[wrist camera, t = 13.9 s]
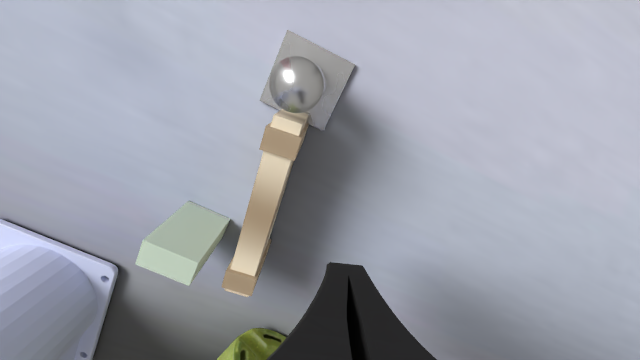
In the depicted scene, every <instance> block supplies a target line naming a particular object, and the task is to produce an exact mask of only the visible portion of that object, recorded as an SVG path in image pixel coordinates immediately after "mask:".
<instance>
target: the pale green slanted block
mask: <svg viewBox="0 0 640 360" xmlns="http://www.w3.org/2000/svg"><path fill="white" fill-rule="evenodd" d="M229 221H230V219H229V218H227V217H225V216H222V215H220V214H218V213H215V212H213V211H211V210H208V209H206V208H204V207H201V206H199V205H197V204H195V203H192V202H190V201H188V202H187V203H185V204H184V205H183V206H182V207H181V208H180V209H178V210H177V211H176V212H175V213H174V214H173V215H171V216H170V217H169V218H168V219H167V220H166V221H164V222H163V223H162V224H161V225H160V226H159V227H158V228H156V229H155V230H154V231H153V232H152V233H151V234H149V235H148V236H147V237H146V238H145V239H144V240H143V241H142V245H141V248H140V251H139V254H138V257H137V260H136V263H135V264H136V265H138V266H141V267H143V268H146V269H148V270H151V271H153V272H156V273H158V274H161V275H163V276H165V277H168V278H170V279H173V280H175V281H178V282H180V283H183V284H185V285H188V286H190V284H191V283H192V281H193V280H194V278H195V277H196V275H197V274H198V272H199V271H200V270H201V268H202V267H203V265H204V264H205V262H206V261H207V259H208V258H209V256H210V255H211V254H212V252H213V251H214V249H215V248H216V246H217V245H218V243H219V242H220V240H221V239H222V237H223V235H224V233H225V230H226V228H227V225H228V223H229Z"/></svg>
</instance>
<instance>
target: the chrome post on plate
mask: <svg viewBox="0 0 640 360" xmlns="http://www.w3.org/2000/svg"><path fill="white" fill-rule="evenodd" d="M354 66H355V64H353V63H351V62H349V61H347V60H345V59H343V58H341V57H339V56H337V55H335V54H334V53H332V52H330V51H328V50H326V49H324V48H322V47H320V46H318V45H316V44H314V43H312V42H310V41H308V40H306V39H304V38H302V37H300V36H298V35H296V34H294V33H293V32H291V31H289V30H287V32H286V35H285V37H284V40H283V42H282V45H281V48H280V50H279V53H278V55H277V58H276V60H275V63H274V65H273V68H272V70H271V73H270V75H269V78H268V80H267V83H266V85H265V88H264V91H263V93H262V96H261V98H260V101H261V102H264V103H266V104H268V105H270V106H272V107H274V108H276V109H278V110H282V109H283V110H285V111H288V112H291V113H306V114H309V115H308V118H307V122H306V123H307V124H309V125H311V126H313V127H316V128H318V129H320V130H322V131H324V129H325V126H326V124H327V122H328V120H329V118H330V116H331V114H332V112H333V110H334V108H335V106H336V104H337V101H338V99H339V97H340V95H341V93H342V91H343V89H344V87H345V85H346V83H347V81H348V79H349V76H350V74H351V72H352V70H353V68H354Z"/></svg>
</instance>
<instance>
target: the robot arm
mask: <svg viewBox="0 0 640 360" xmlns="http://www.w3.org/2000/svg"><path fill="white" fill-rule="evenodd" d="M117 275H118V268H117V267H116V266H115V265H114V264H112V263H109V262H107V261H104V260H102V259H99V258H97V257H94V256H92V255H89V254H87V253H84V252H82V251H79V250H77V249H74V248H72V247H69V246H67V245H64V244H62V243H59V242H57V241H54V240H52V239H49V238H47V237H44V236H42V235H39V234H37V233H34V232H32V231H29V230H27V229H24V228H22V227H20V226H17V225H15V224H12V223H10V222H7V221H5V220H2V219H0V360H92V359H93V356H94V352H95V349H96V346H97V342H98V339H99V336H100V332H101V329H102V325H103V322H104V319H105V315H106V312H107V309H108V305H109V302H110V299H111V295H112V292H113V289H114V285H115V282H116V279H117ZM106 276H107V277H108V278H107V277H106ZM266 360H436V359H435V358H434V357H433V356H432V355H431V354H430V353H429V352H428V351H427V350H426V349H425V348H424V347H423V346H422V345H421V344H420V343H419V342H418V341H417V340H416V339H415V338H414V337H413V336H412V335H411V334H410V333H409V331H408V330H407V329H406V328H405V327H404V326H403V324H402V323H401V322H400V321H399V319H398V318H397V317H396V316H395V314H394V313H393V312H392V310H391V309H390V308H389V306H388V305H387V303H386V302H385V301H384V299H383V298H382V296H381V295H380V293H379V292H378V290H377V289H376V287H375V286H374V284H373V282H372V281H371V279H370V277H369V276H368V274H367V272H366V270H365V269H364V267H363V266H361V265H351V264H341V263H331V262H330V263H329V264H327V268H326V273H325V276H324V279H323V281H322V284H321V286H320V288H319V290H318V292H317V294H316V296H315V298H314V300H313V301H312V303H311V305H310V306H309V308H308V310H307V311H306V313H305V314H304V316H303V317H302V319H301V320H300V321H299V323H298V324H297V325H296V327H295V328H294V329H293V331H292V332H291V333H290V334H289V336H288V337H287V338H286V339H285V340H284V341H283V343H282V344H281V345H280V346H279V347H278V348H277V349H276V350H275V351H274V352H273V353H272V354H271V355H270V356H269V357H268V358H267V359H266Z"/></svg>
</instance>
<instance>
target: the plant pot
mask: <svg viewBox="0 0 640 360" xmlns="http://www.w3.org/2000/svg"><path fill="white" fill-rule="evenodd" d="M285 339H286V337H285V336H283V335H281V334H279V333H277V332H275V331H272V330H269V329H264V328H253V329H250V330H248V331H247V332H245V333H243V334H241V335H240V336H238V337H237V338H236V339H235V340H234V341H233V342H232V343H231V345H230V346H229V347H228V348H227V349H226V350H225V351H224V352H223V353H222V354H221V355H220V356H219V357H218V358H217V360H266V359H267V358H268V357H269V356H270V355H271V354H272V353H273V352H274V351H275V350H276V349H277V348H278V347H279V346H280V345H281V344H282V343H283V341H284V340H285Z"/></svg>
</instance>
